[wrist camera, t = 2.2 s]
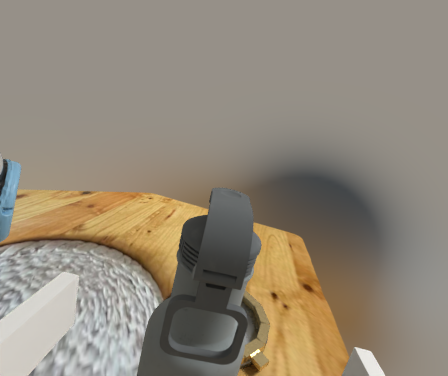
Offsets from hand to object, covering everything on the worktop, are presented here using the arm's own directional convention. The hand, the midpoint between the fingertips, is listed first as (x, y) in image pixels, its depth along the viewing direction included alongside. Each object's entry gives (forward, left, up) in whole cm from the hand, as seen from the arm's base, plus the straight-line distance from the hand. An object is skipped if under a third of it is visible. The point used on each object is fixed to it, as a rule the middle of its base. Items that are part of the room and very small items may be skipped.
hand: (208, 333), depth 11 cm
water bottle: (-7, +7, -25) cm, 27 cm away
